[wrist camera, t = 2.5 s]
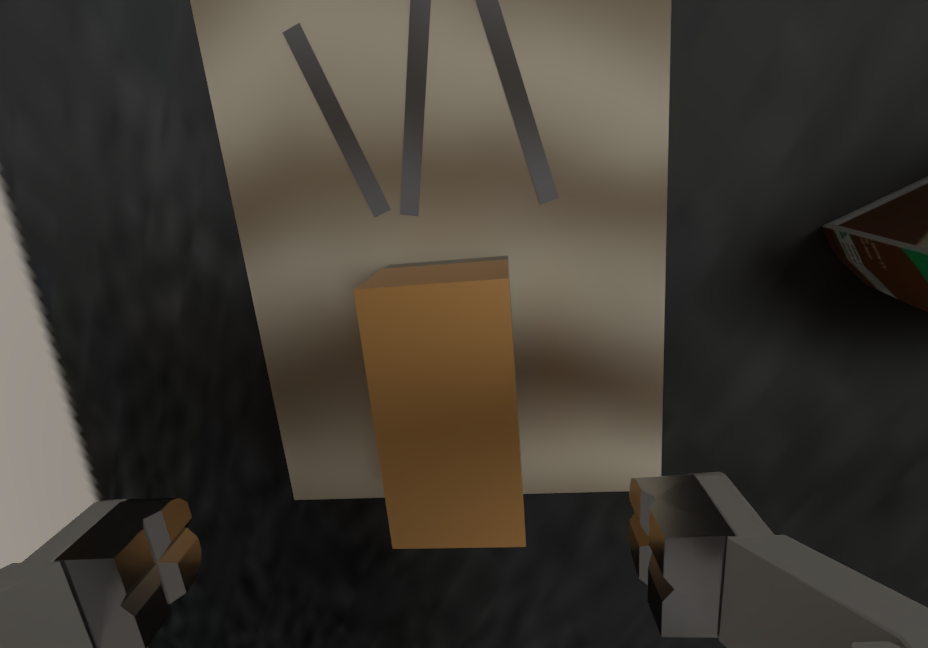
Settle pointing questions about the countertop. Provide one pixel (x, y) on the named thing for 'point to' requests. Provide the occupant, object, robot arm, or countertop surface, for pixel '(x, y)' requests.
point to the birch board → (453, 208)
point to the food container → (888, 243)
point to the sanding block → (445, 401)
